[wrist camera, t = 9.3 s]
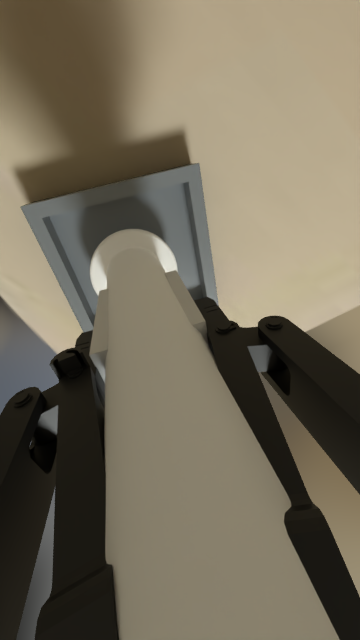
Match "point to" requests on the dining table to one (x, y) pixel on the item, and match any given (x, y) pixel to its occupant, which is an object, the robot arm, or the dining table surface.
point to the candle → (187, 476)
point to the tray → (119, 214)
